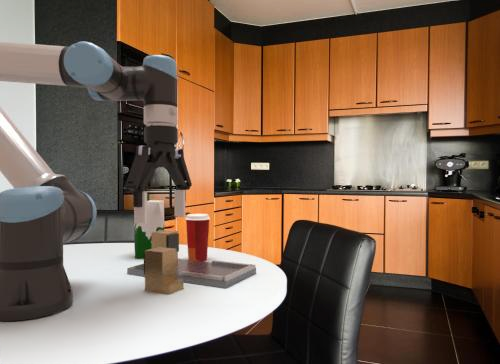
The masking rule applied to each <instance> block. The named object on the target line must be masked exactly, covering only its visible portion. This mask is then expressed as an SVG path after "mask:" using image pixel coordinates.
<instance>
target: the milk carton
mask: <svg viewBox="0 0 500 364" xmlns="http://www.w3.org/2000/svg"><path fill="white" fill-rule="evenodd" d="M133 211H134V213H133V215H134V216H133V217H134V218H133V223H134V225H133V226H134V228H133V229H134V230H133V231H134V235H133V236H134V240H133V241H134V259H138V260H139V259H142V260H144V252H145V250H149V249H152V232H156V231H162V230H165V200H164V199H162V200H157V199H150V194H149V193H147V223H135V207H134V206H133Z"/></svg>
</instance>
